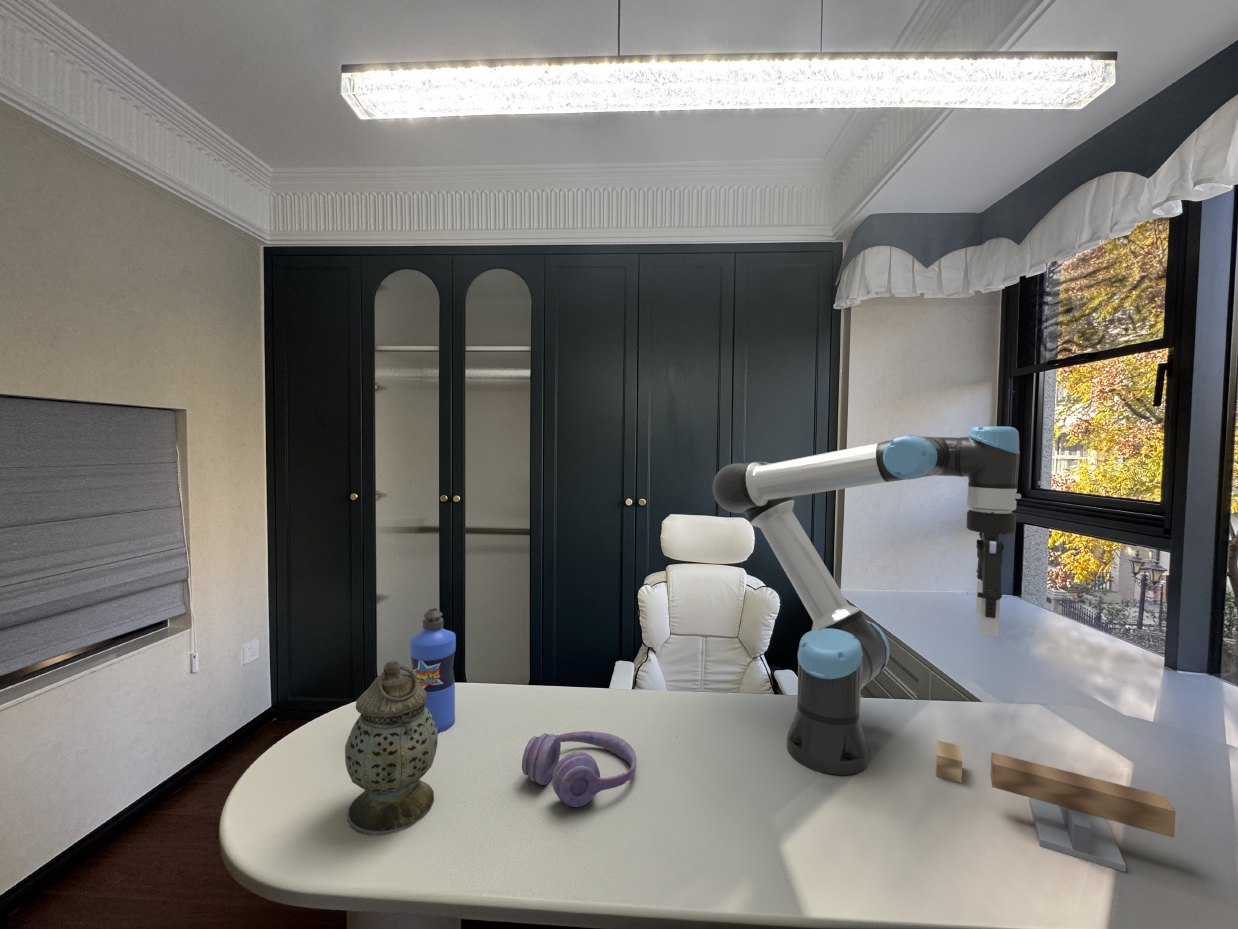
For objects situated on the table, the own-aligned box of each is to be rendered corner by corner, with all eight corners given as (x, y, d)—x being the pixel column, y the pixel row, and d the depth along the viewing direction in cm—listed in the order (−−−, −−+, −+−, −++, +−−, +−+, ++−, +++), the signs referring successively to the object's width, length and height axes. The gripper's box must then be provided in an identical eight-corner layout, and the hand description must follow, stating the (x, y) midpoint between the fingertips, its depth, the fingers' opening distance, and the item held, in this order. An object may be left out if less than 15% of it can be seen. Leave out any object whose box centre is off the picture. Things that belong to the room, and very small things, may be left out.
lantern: (441, 777, 100) (441, 642, 99) (431, 831, 86) (431, 675, 85) (358, 786, 97) (357, 647, 96) (334, 844, 83) (333, 683, 82)
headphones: (574, 826, 87) (653, 788, 101) (581, 773, 87) (658, 743, 102) (506, 776, 99) (585, 749, 114) (512, 730, 100) (590, 709, 114)
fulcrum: (1039, 845, 85) (1041, 814, 84) (1029, 802, 95) (1030, 774, 95) (1125, 872, 80) (1127, 839, 79) (1104, 823, 90) (1106, 794, 90)
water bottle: (447, 735, 114) (447, 617, 113) (403, 734, 114) (402, 616, 113) (461, 713, 123) (461, 603, 122) (419, 712, 123) (419, 602, 122)
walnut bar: (992, 787, 91) (993, 763, 91) (990, 774, 94) (991, 752, 94) (1174, 838, 80) (1175, 811, 80) (1164, 821, 83) (1166, 796, 83)
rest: (936, 776, 102) (937, 755, 102) (936, 760, 107) (937, 740, 107) (961, 783, 100) (962, 761, 100) (960, 766, 105) (961, 746, 105)
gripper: (1025, 520, 88) (1019, 649, 89) (1009, 505, 109) (1004, 609, 110) (969, 516, 92) (964, 640, 93) (964, 502, 113) (960, 603, 114)
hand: (986, 624), depth 102 cm, fingers open, 13 cm apart
